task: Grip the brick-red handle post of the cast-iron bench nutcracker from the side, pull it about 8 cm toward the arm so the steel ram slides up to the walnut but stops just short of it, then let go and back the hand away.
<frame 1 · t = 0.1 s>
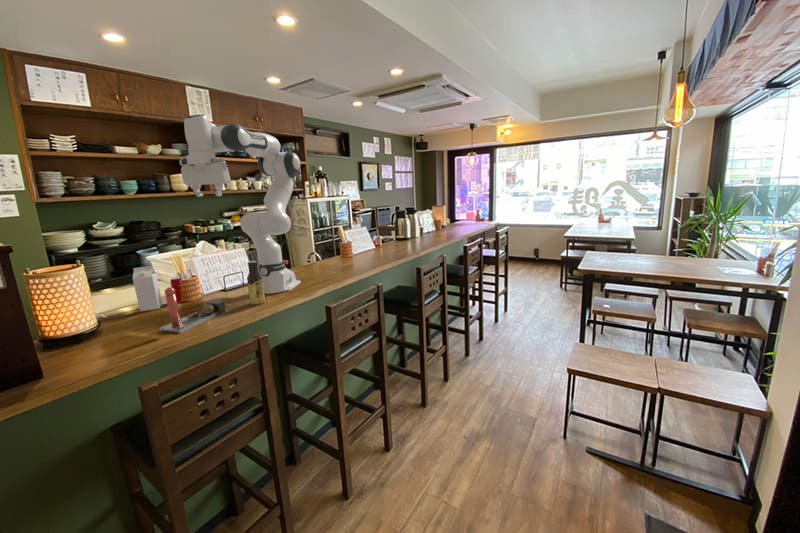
hand: (209, 196, 137), 48 cm above the bar counter, tool pointing down, fingers open, 8 cm apart
bed: (198, 322, 137), on the bar counter
sauce bottle: (258, 306, 154), on the bar counter
milk carton: (152, 308, 157), on the bar counter
walnut: (209, 314, 142), point 1 cm above the bar counter, touching bed
soda can: (181, 301, 165), on the bar counter
lever: (174, 307, 127), point 9 cm above the bar counter, slide at 0.0 cm
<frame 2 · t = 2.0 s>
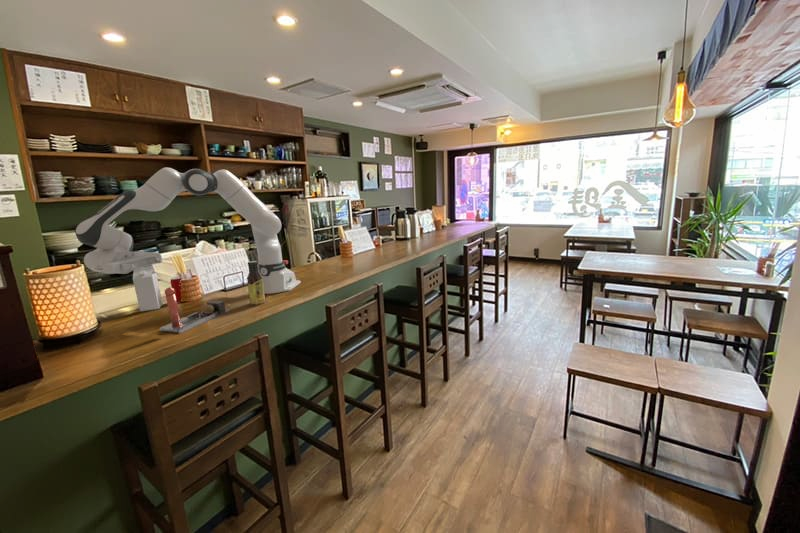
hand: (147, 263, 131), 24 cm above the bar counter, tool horizontal, fingers open, 8 cm apart
nothing on the bar counter moved.
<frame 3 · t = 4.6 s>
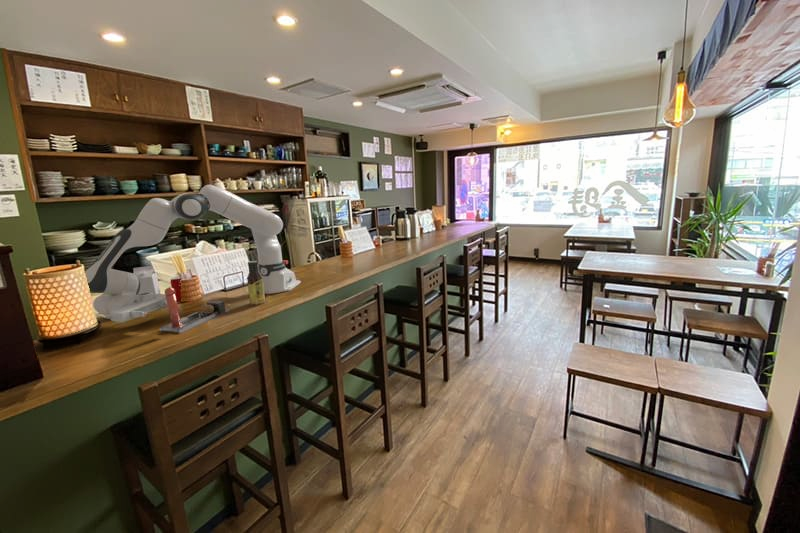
hand: (157, 309, 130), 8 cm above the bar counter, tool horizontal, fingers open, 8 cm apart
nothing on the bar counter moved.
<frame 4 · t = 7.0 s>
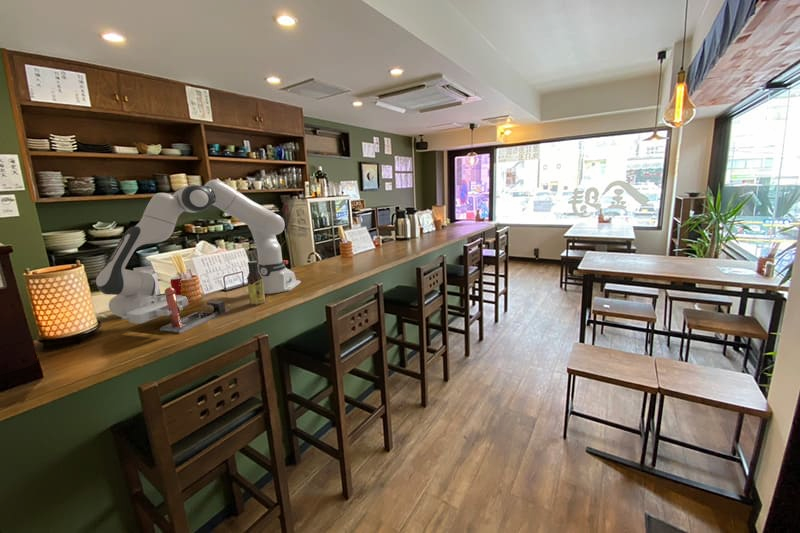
hand: (175, 310, 127), 9 cm above the bar counter, tool horizontal, fingers closed on lever, 3 cm apart
lever: (174, 307, 127), point 9 cm above the bar counter, slide at 0.0 cm, touching gripper
everything else where it was.
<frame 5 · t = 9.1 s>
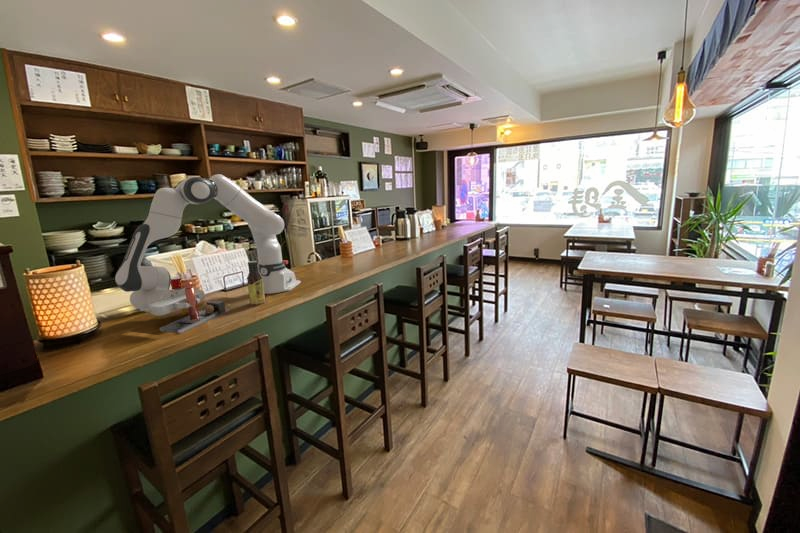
hand: (193, 303, 134), 8 cm above the bar counter, tool horizontal, fingers closed on lever, 3 cm apart
lever: (192, 300, 135), point 9 cm above the bar counter, slide at 7.8 cm, touching gripper
everything else where it was.
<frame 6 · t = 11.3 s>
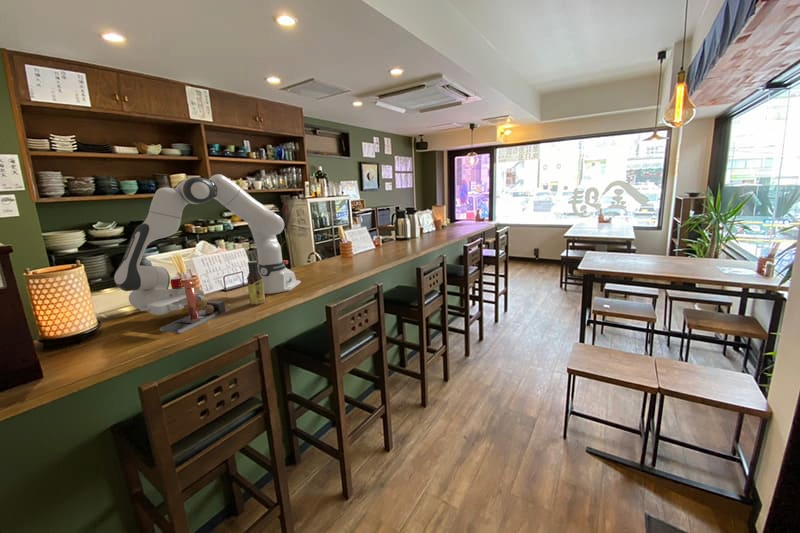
hand: (193, 302, 134), 9 cm above the bar counter, tool horizontal, fingers open, 8 cm apart
lever: (192, 300, 135), point 9 cm above the bar counter, slide at 7.9 cm
everything else where it was.
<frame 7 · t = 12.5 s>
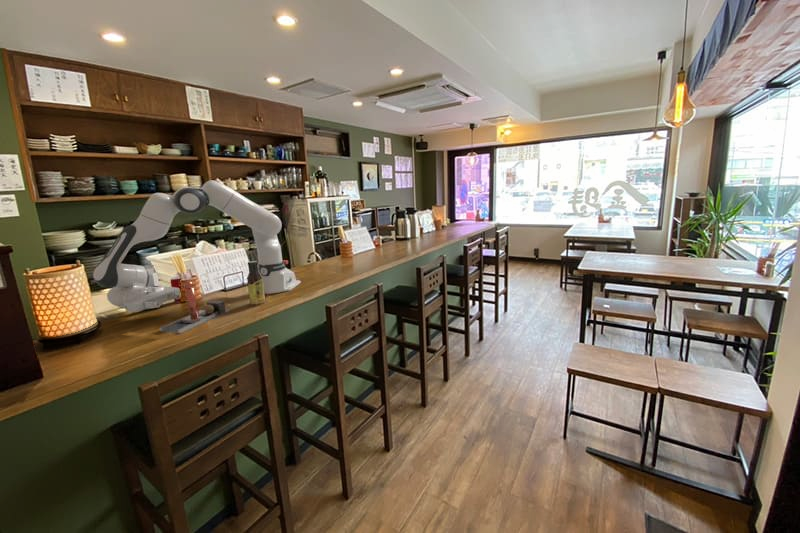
hand: (168, 300, 138), 9 cm above the bar counter, tool horizontal, fingers open, 8 cm apart
milk carton: (151, 307, 157), on the bar counter, touching arm
everything else where it was.
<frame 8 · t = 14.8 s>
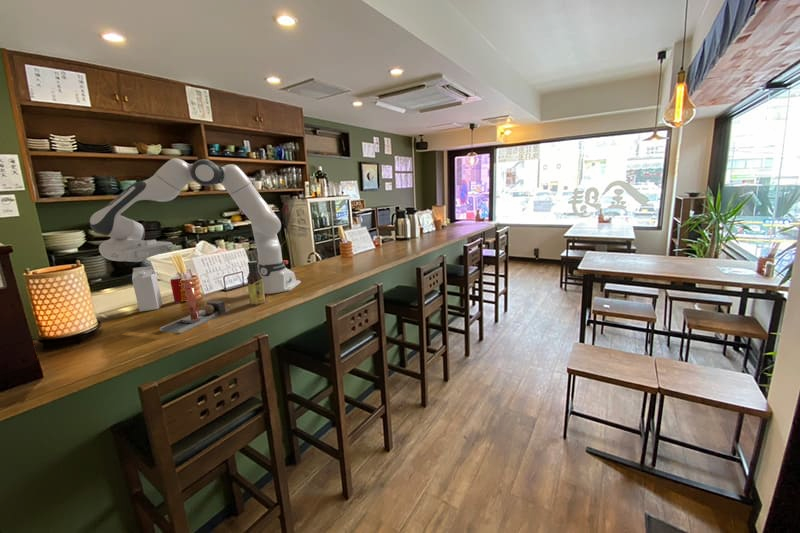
hand: (160, 251, 136), 28 cm above the bar counter, tool horizontal, fingers open, 8 cm apart
milk carton: (151, 308, 157), on the bar counter
everything else where it was.
at the end: lever slide at 7.9 cm; walnut moved 0.0 cm from its start; the gripper is holding nothing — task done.
